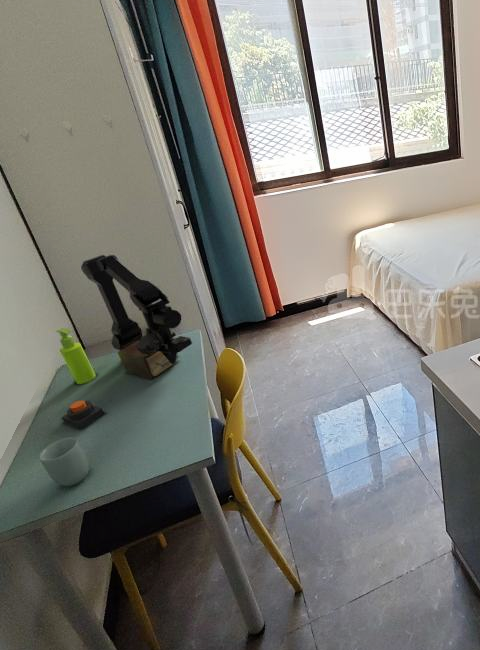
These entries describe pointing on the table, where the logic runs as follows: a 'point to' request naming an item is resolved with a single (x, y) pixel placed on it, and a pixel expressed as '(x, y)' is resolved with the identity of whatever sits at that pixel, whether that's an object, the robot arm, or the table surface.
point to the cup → (65, 461)
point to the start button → (78, 406)
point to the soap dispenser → (75, 358)
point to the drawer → (158, 363)
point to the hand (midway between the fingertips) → (173, 363)
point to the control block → (83, 415)
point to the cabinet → (136, 361)
